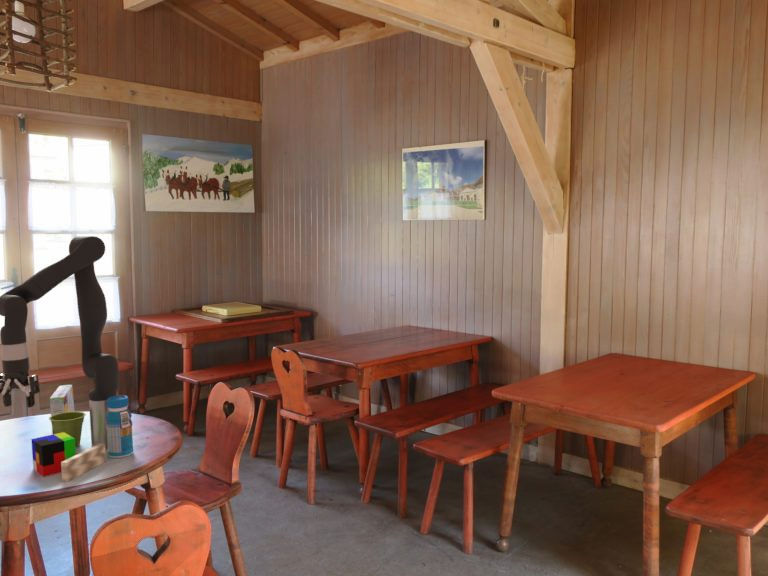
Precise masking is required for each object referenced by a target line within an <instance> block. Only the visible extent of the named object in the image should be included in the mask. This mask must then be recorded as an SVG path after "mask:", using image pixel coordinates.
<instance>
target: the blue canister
mask: <svg viewBox="0 0 768 576" xmlns="http://www.w3.org/2000/svg"><path fill="white" fill-rule="evenodd" d="M107 406H108V409H110V410H109V411H108V413H107V415H106V420H107V423H106V429H107V443H108V448H107V456H108V457H109V458H112V459H120V458H121V459H122V458H126V457H129V456H132V455H133V453H134V444H133V441H134V440H133V421H132V413H131V410H129V408H128V407H129V397H128V396H127V395H117V396H113V397H109V398H108V399H107Z"/></svg>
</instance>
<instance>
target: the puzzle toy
mask: <svg viewBox="0 0 768 576" xmlns="http://www.w3.org/2000/svg"><path fill="white" fill-rule="evenodd" d="M31 453H32V466H33V467H32V468H33V470H34V471H35V472H36V473H39V475H40V476H42V477H48V476H52V475H56V474H59V473H60V474H61V473H62V471H61V462H63V461H65V460H67V459H69V458H71V457H73V456H75V455H77V451H76V448H75V438H73V437H71V436H70V435H68V434H66V433H65V432H62V433H58V434H53V433H52V434H49V435H44V436H40V437H36V438H35V437H34V438H31Z"/></svg>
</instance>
